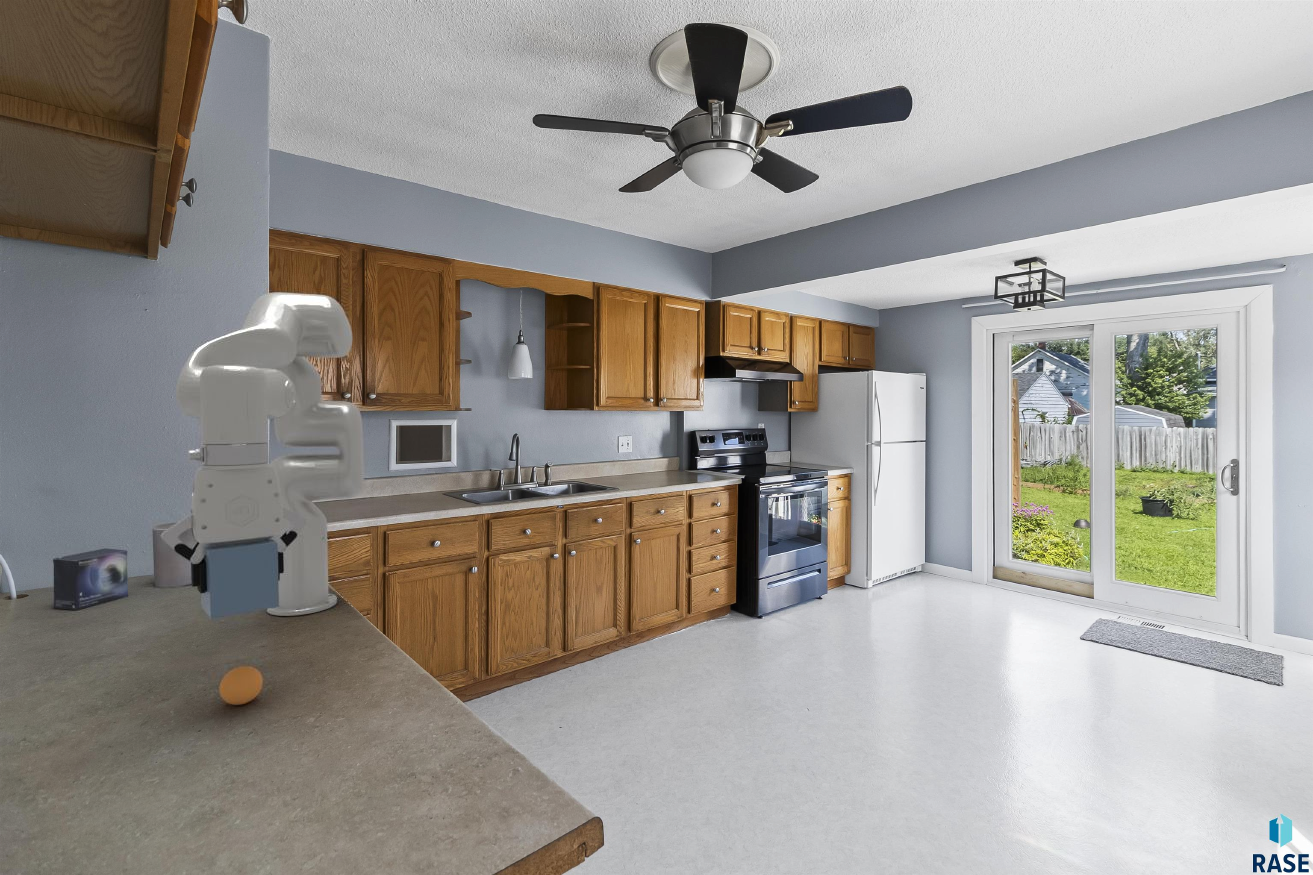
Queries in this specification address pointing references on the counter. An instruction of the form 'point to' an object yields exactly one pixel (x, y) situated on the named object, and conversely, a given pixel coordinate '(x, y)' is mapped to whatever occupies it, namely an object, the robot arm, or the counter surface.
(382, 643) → the counter surface
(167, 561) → the pillar candle
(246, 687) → the ball
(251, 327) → the robot arm
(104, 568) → the small box
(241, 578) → the slate blue square block
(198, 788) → the counter surface
